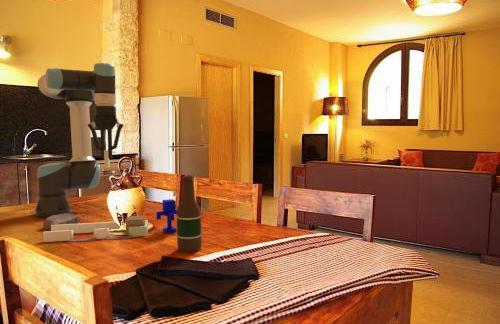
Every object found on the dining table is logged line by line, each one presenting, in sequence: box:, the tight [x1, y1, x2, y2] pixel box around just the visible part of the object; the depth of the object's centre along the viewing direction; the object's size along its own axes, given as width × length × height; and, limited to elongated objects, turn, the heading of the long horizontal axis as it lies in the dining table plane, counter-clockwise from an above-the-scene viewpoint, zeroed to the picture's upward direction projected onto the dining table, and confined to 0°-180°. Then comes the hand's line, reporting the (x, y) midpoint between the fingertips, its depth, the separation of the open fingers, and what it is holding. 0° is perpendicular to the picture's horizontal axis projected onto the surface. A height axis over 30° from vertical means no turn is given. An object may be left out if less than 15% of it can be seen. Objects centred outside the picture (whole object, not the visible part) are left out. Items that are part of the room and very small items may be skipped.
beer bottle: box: [176, 174, 203, 254], centre depth 129 cm, size 8×8×24 cm
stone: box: [42, 213, 81, 230], centre depth 161 cm, size 12×9×5 cm
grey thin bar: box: [69, 235, 131, 243], centre depth 142 cm, size 2×20×1 cm, turn 102°
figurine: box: [155, 198, 177, 234], centre depth 152 cm, size 8×8×12 cm
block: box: [125, 215, 145, 236], centre depth 150 cm, size 6×6×6 cm
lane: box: [42, 219, 149, 243], centre depth 148 cm, size 11×35×4 cm, turn 102°
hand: (107, 167), depth 154 cm, fingers closed
